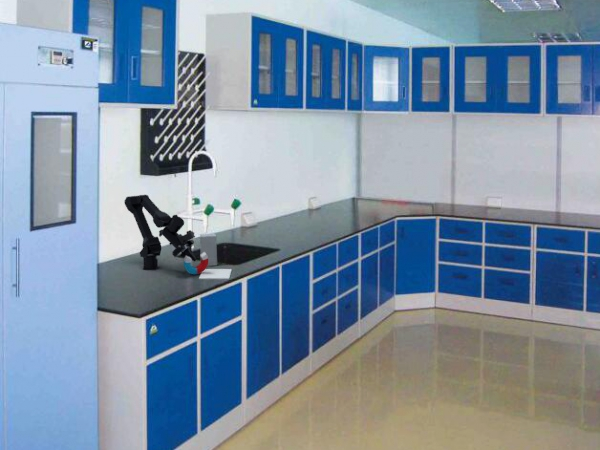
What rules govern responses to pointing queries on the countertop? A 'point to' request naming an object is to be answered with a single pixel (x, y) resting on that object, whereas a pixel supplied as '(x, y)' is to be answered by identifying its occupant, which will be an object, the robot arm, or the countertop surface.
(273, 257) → the countertop surface
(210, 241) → the skincare box
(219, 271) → the white paper sheet
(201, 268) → the magnet
